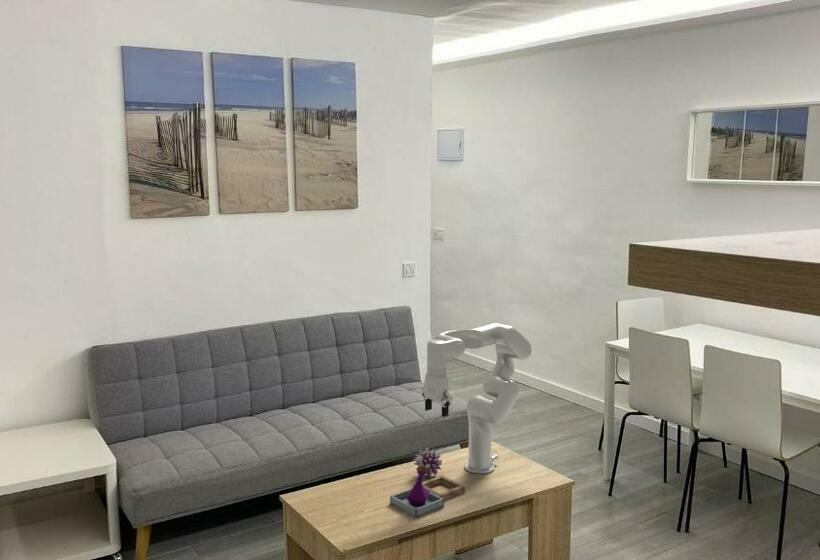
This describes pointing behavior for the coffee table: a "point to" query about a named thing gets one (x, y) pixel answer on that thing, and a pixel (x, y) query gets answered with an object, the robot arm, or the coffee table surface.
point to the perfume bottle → (419, 488)
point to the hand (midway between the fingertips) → (436, 412)
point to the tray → (416, 511)
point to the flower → (429, 461)
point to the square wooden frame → (448, 482)
